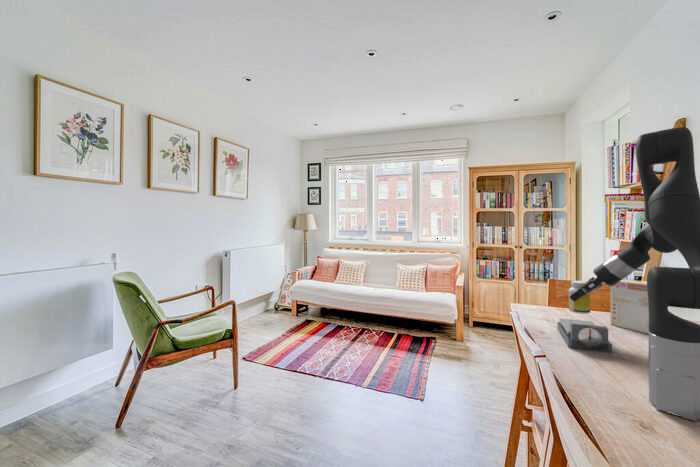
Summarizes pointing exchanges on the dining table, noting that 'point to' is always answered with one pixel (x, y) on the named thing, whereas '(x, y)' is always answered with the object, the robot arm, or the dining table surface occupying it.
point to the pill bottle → (583, 302)
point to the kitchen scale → (586, 337)
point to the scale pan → (566, 323)
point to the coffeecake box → (630, 305)
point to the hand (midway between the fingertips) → (574, 297)
